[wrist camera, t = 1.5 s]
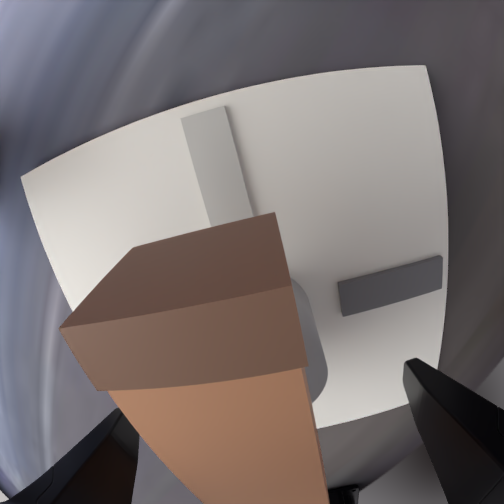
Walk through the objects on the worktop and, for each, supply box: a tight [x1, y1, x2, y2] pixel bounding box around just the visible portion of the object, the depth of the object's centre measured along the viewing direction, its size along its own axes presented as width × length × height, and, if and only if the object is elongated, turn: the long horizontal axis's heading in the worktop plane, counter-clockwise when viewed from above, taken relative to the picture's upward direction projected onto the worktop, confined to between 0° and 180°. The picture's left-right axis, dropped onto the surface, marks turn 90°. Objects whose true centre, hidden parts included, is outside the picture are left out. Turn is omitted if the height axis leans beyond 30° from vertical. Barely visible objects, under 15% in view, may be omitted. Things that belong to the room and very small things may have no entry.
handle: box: [59, 212, 330, 504], centre depth 7 cm, size 11×3×4 cm, turn 14°
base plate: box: [21, 65, 448, 428], centre depth 12 cm, size 18×18×5 cm
